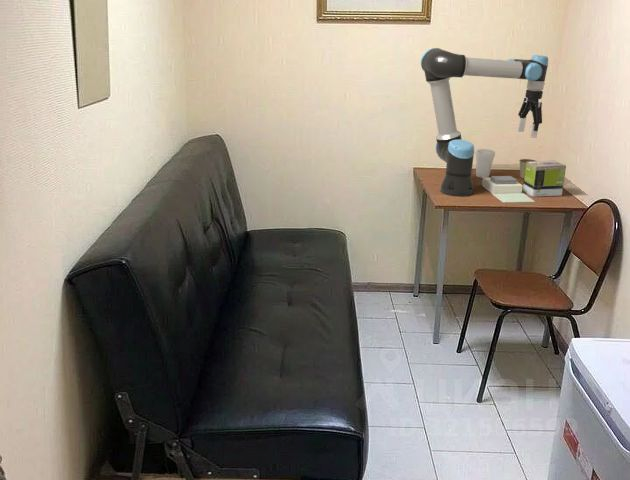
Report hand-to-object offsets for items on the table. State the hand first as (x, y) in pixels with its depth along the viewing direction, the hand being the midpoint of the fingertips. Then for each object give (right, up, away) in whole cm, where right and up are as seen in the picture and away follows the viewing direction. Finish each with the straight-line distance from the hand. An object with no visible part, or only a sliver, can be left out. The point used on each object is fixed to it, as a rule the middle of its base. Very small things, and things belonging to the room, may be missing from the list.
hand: (527, 134), depth 306 cm
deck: (-13, -27, -3) cm, 30 cm away
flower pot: (+6, -19, +18) cm, 27 cm away
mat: (-11, -32, -16) cm, 37 cm away
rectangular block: (-13, -23, -5) cm, 27 cm away
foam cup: (-17, -18, +19) cm, 31 cm away
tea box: (+4, -29, -7) cm, 30 cm away
